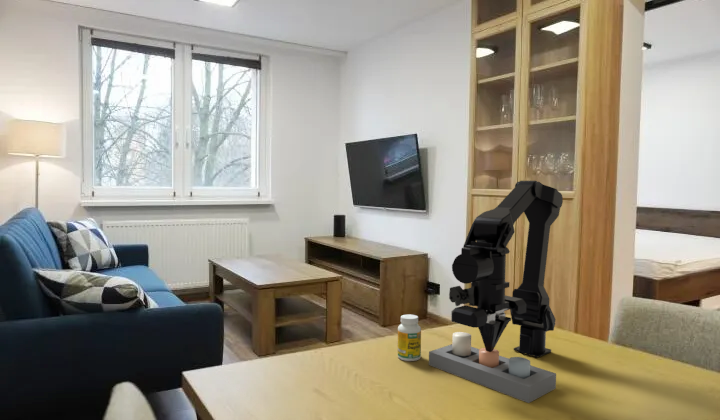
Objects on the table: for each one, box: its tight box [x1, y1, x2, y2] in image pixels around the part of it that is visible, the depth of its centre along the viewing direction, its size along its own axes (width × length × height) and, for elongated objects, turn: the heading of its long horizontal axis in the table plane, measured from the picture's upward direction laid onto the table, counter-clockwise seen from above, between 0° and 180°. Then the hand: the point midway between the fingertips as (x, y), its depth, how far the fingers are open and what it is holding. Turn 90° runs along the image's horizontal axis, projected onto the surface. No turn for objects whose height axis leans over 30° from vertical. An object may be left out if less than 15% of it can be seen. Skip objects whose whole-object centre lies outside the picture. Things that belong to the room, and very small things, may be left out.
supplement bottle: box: [397, 313, 422, 362], centre depth 109 cm, size 5×5×10 cm
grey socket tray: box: [428, 343, 557, 404], centre depth 99 cm, size 10×24×3 cm, turn 40°
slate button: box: [509, 356, 531, 379], centre depth 94 cm, size 4×4×4 cm
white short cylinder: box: [451, 331, 472, 356], centre depth 104 cm, size 4×4×4 cm
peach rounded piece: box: [478, 347, 500, 368], centre depth 99 cm, size 4×4×4 cm
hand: (489, 351), depth 99 cm, fingers closed, pressing on peach rounded piece
